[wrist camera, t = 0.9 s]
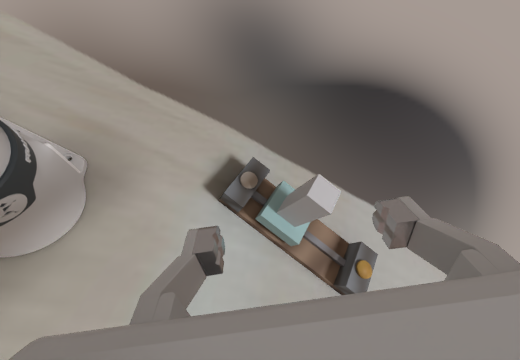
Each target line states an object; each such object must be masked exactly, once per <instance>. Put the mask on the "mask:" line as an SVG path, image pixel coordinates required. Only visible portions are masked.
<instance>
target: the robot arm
mask: <svg viewBox="0 0 520 360" xmlns="http://www.w3.org/2000/svg"><path fill="white" fill-rule="evenodd" d="M69 158H72V160H70V161H68V159H69ZM86 169H87V161H86V160H85V159H84V158H83V157H82V156H80V155H78V154H76V153H74V152H72V151H70V150H68V149H66V148H63V147H61V146H59V145H57V144H55V143H53V142H51V141H49V140H47V139H45V138H43V137H41V136H39V135H37V134H35V133H33V132H31V131H29V130H27V129H24V128H22V127H20V126H18V125H16V124H14V123H12V122H10V121H8V120H6V119H4V118H2V117H0V257H13V256H19V255H24V254H28V253H31V252H34V251H37V250H39V249H42V248H44V247H46V246H48V245H50V244H52V243H53V242H55V241H56V240H58V239H59V238H61V237H62V236H63V235H64V234H66V233H67V232H68V231H69V230H70V229H71V228H72V227H73V226H74V224H75V223H76V222H77V220H78V219H79V217H80V215H81V214H82V211H83V209H84V206H85V201H86V190H85V185H84V175H85V172H86ZM374 207H375V209H376V211H375V212H374V213H373V217H372V219H373V224H374V227H375V229H376V230H377V232H379V233H381V234H383V236H382V239H383V241H384V242H385V244H386V245H387V247H388V248H389V249H395V248H403V247H407V248H408V249H409V250H411V251H412V252H414V253H415V254H417V255H418V256H420V257H421V258H423V259H424V260H426V261H427V262H429V263H430V264H432V265H433V266H435V267H436V268H438V269H439V270H441V271H442V272H444V273H445V274H447V277H446V278H445V280H444V281H441V282H434V283H427V284H420V285H413V286H406V287H398V288H391V289H384V290H377V291H370V292H363V293H356V294H349V295H341V296H334V297H327V298H320V299H313V300H306V301H299V302H292V303H284V304H277V305H270V306H263V307H256V308H249V309H241V310H234V311H227V312H220V313H213V314H206V315H198V316H190V315H189V313H188V312H187V310H186V308H187V307H188V305H189V304H190V302H191V301H192V299H193V297H194V296H195V294H196V293H197V291H198V290H199V288H200V287H201V285H202V284H203V282H204V280H205V279H206V276H211V275H216V274H222V273H223V266H224V261H223V258H222V257H223V255H224V254H225V245H224V239H223V237H222V236H221V235H220V229H219V226H212V227H204V228H198V229H190V230H189V231H188V232H187V236H186V240H185V243H184V247H183V250H182V254H181V256H178V257H177V258H176V259H175V260H174V261H173V262H172V263H171V264H170V265H169V267H168V268H167V269H166V270H165V271H164V272H163V273H162V274H161V275H160V276H159V277H158V278H157V279H156V280H155V281H154V282H153V283H152V284H151V285H150V286H149V287H148V289H147V290H146V291H145V292H144V293H143V294H142V295H141V296H140V299H139V301H138V304H137V306H136V309H135V311H134V314H133V317H132V319H131V322H130V324H129V325H126V326H119V327H112V328H105V329H98V330H91V331H83V332H76V333H69V334H61V335H54V336H47V337H42V338H39V339H36V340H34V341H32V342H31V343H29V344H28V345H27V346H25V347H24V348H23V349H21V350H20V351H19V352H17V353H16V354H15V355H14V356H12V357H11V358H10V359H9V360H520V263H519V262H518V261H516V260H515V259H514V258H513V257H512V256H510V255H509V254H508V253H507V252H506V251H505V250H503V249H502V248H501V247H500V246H499V245H497V244H495V243H493V242H490V241H488V240H485V239H483V238H480V237H478V236H476V235H473V234H471V233H469V232H466V231H464V230H462V229H459V228H457V227H455V226H452V225H450V224H447V223H445V222H443V221H440V220H438V219H435V218H432V219H431V218H430V217H429V216H428V215H427V214H426V213H425V212H424V211H423V210H422V209H421V208H420V207H419V206H418V205H417V204H416V203H415V202H414V201H413V200H412V199H411V198H410V197H408V196H406V197H400V198H394V199H388V200H382V201H377V202H376V203H375V206H374Z"/></svg>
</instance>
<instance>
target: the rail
mask: <svg viewBox="0 0 520 360" xmlns="http://www.w3.org/2000/svg"><path fill="white" fill-rule="evenodd" d="M269 171H270V170H269V169H268V168H267V167H265V166H264V165H263V164H261V163H260V162H259V161H258V160H256V159H255V158H254V157H253V158H252V159H251V160H250V162H249V163H248V164H247V165H246V166H245V168H244V169H243V170H242V171H241V172H240V174H239V175H238V176H237V177H236V179H235V180H234V181H233V182H232V183H231V185H230V186H229V187H228V188H227V190H226V191H225V192H224V193H223V195H222V197H221V198H220V200H219V202H221V203H222V204H223V205H225V206H226V207H227V208H228V209H230V210H231V211H232V212H234V213H235V214H236V215H238V216H239V217H240V218H242V219H243V220H244V221H246V222H247V223H248V224H249V225H251V226H252V227H253V228H255V229H256V230H257V231H259V232H260V233H261V234H263V235H264V236H265V237H266V238H268V239H269V240H270V241H272V242H273V243H274V244H276V245H277V246H278V247H280V248H281V249H282V250H283V251H285V252H286V253H287V254H289V255H290V256H291V257H293V258H294V259H295V260H297V261H298V262H299V263H301V264H302V265H303V266H304V267H306V268H307V269H308V270H310V271H311V272H312V273H314V274H315V275H316V276H318V277H319V278H320V279H321V280H323V281H324V282H325V283H327V284H328V285H329V286H331V287H332V288H333V289H335V290H336V291H337V292H338V293H340V294H341V295H349V294H356V293H363V292H367V289H368V286H369V282H370V279H371V275H372V272H373V269H374V265H375V262H376V258H377V255H378V254H377V253H375V252H374V251H373V250H371V249H370V248H369V247H368V246H366V245H365V244H364V243H363V242H357V243H350V244H349V243H347V242H346V241H345V240H343V239H342V238H341V237H340V236H338V235H337V234H336V233H335V232H333V231H332V230H331V229H329V228H328V227H327V226H326V225H324V224H323V223H322V222H320V221H319V220H318V219H316V220H313V221H311V222H310V224H309V226H308V228H307V230H306V232H305V234H304V235H303V237H302V239H301V241H300V243H299V245H294V246H290V245H288V244H287V243H286V242H285V241H283V240H282V239H281V238H279V237H278V236H277V235H275V234H274V233H273V232H272V231H270V230H269V229H268V228H266V227H265V226H264V225H262V224H261V223H260V222H258V221H257V220H256V219H255V218H256V217H257V215H258V214H259V212H260V211H261V209H262V208H263V206H264V205H265V203H266V202H267V200H268V199H269V197H270V196H271V194H272V193H273V191H274V190H275V188H276V187H275V186H274V185H273V184H272V183H270V182H269V181H268V180H266V179H265V177H266V176H267V174H268V173H269Z"/></svg>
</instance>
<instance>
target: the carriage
mask: <svg viewBox="0 0 520 360" xmlns="http://www.w3.org/2000/svg"><path fill="white" fill-rule="evenodd" d="M340 194H341V191H340V190H339V189H338V188H336V187H335V186H334V185H333V184H331V183H330V182H329V181H328V180H326V179H325V178H324V177H322V176H321V175H320V174H318V175H316V176H315V177H313V178H312V179H311V180H309V181H308V182H306V183H305V184H303V185H302V186H300V187H299V188H297V189H296V190H295V189H294V188H292V187H291V186H290V185H288V184H287V183H286V182H285V181H283V182H281V183H280V184H279V185H278V186H277V187H276V188H275V190H274V191H273V193H272V194H271V196H270V197H269V199H268V200H267V202H266V203H265V205H264V206H263V208H262V209H261V211H260V212H259V214H258V215H257V217H256V218H255V219H256V220H257V221H258V222H260V223H261V224H262V225H264V226H265V227H266V228H268V229H269V230H270V231H272V232H273V233H274V234H275V235H277V236H278V237H279V238H281V239H282V240H283V241H285V242H286V243H287V244H288V245H290V246H294V245H299V243H300V241H301V239H302V237H303V235H304V234H305V232H306V230H307V228H308V226H309V224H310V222H311V221H313V220H316V219H319V218H321V217H324V216H327V215H330V214H331V213H332V211H333V209H334V206H335V204H336V202H337V200H338V198H339V196H340Z"/></svg>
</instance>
